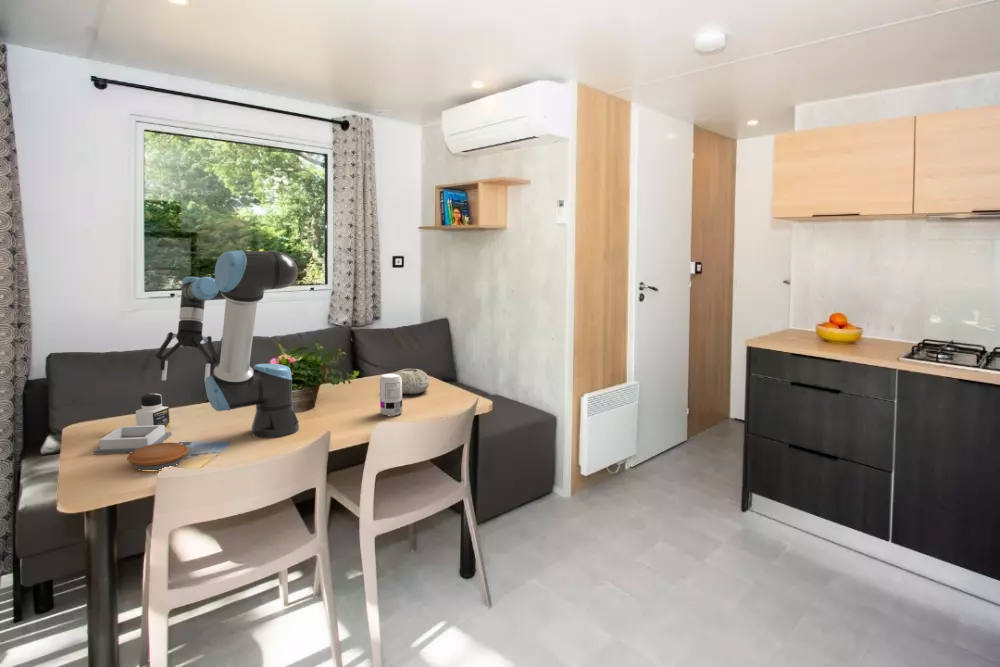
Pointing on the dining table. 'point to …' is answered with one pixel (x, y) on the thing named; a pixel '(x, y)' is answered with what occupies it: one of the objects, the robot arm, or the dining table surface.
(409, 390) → the grey squat round piece
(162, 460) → the pie
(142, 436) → the dock
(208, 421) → the dining table surface
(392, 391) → the supplement can
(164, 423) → the medicine bottle
